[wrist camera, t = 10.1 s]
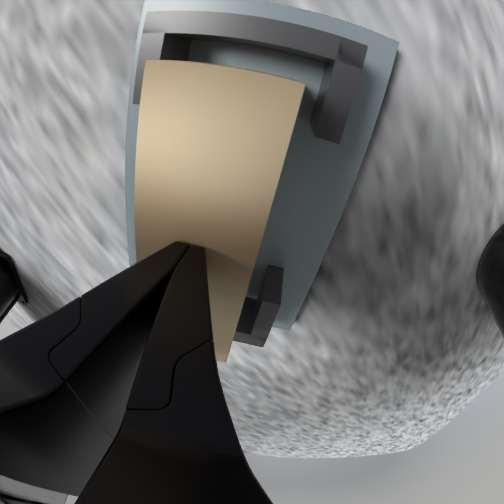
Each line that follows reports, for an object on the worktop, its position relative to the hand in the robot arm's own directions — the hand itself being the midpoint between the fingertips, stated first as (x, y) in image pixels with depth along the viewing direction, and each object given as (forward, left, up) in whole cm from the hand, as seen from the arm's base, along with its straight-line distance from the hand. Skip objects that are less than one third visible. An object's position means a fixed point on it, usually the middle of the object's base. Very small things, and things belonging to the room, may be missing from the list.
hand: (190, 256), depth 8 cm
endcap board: (0, 0, -6) cm, 6 cm away
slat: (0, 0, -5) cm, 5 cm away
